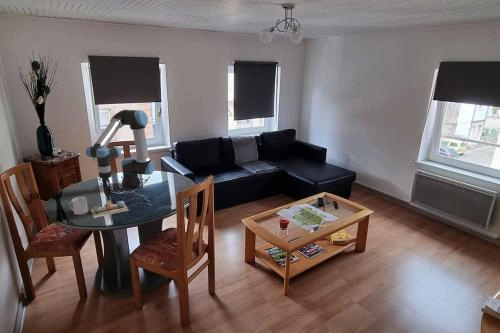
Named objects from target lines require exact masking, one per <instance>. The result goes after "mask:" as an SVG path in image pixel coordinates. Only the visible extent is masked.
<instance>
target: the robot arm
mask: <svg viewBox="0 0 500 333" xmlns="http://www.w3.org/2000/svg"><path fill="white" fill-rule="evenodd" d="M148 123H149V119H148V115H147V113H146V112H145V111H144V110H139V109H123V110H120V111H118V112H117V113H116V114H114V115H113V116H112V117H111V119H110V120H109V123H108V125H107V126H106V128H105V129H104V130H103V132H101V134H100V136H99V137H98V139H97V140H96V141H95V143H94V144H93V146H87V147H86V148H85V154H86V156H87V157H88V158H93V159H94V158H95V159H96V161H97V162H96V163H97V170H98V177H99V179H102V185H103V190H104V196H105V202H106V204H107V205H109V204H111V203H112V200H111V196H112V194H111V183H110V182H111V181H110V178H112V175H113V174H112V169H111V168H112V166H111V161H113V160H115V159H118V158H119V157H120V156H121V154H122V151H121V149H120V148H119V147H118V146H112V147H108V146H109V144H110V143H111V141H112V139H113V138H114V137H115V136H116V134H117V133H118V132H119V130H120V129H122V127H124V126H129V128H130V130H131V131H132V133H133V134H132V135H133V140H134V146H135V151H136V156H137V157H135V156H134V157H133V156H132V157H126V158H123V159H122V161H121V168H122V181H121V186H122V188H126V189H127V188H129V189H131V188H136V187H139V186H140V185H141V184H142V182H141V180H140V177H139V175H145V176H148V175H149V176H150V175H153V173H154V171H155V166H156V164H155V161H153V160H152V158H151V156H149V151H148V146H147V144H148V143H147V139H146V133H145V130H146V126H147V125H148ZM106 204H105V205H106Z"/></svg>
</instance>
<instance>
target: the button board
mask: <svg viewBox="0 0 500 333" xmlns="http://www.w3.org/2000/svg"><path fill="white" fill-rule="evenodd" d="M127 211H130V209H129V208H128V206H127V205H126V204H125V205H124V206H123V207H122V208H119V207H118V206H117V203H113V208H112V209H111V210H108V209H106V207H105V206H101V211H100V212H99V213H96V212H94V210H93V208H92V209H90V212H91V214H92V216H93V219H96V218H100V217H101V218H102V217H105V216H109V215H113V214H118V213H123V212H127Z"/></svg>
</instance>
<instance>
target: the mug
mask: <svg viewBox="0 0 500 333" xmlns="http://www.w3.org/2000/svg"><path fill="white" fill-rule="evenodd" d="M71 205H72V206H71ZM69 208H70V210H72V211H73V214H74V215H77V216H78V215H85V214H86V213H88V212H89V206H88V200H87V197H86V196H82V195H81V196H76V197H74V198H72V199H71V200H70V201H69Z"/></svg>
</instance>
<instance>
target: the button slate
mask: <svg viewBox="0 0 500 333" xmlns="http://www.w3.org/2000/svg"><path fill="white" fill-rule="evenodd" d="M116 204H117V206H118V207H119V209H120V208H124V207H123V206H124V205H126V204H125V201H124V200H118V201H117V202H116Z"/></svg>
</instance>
